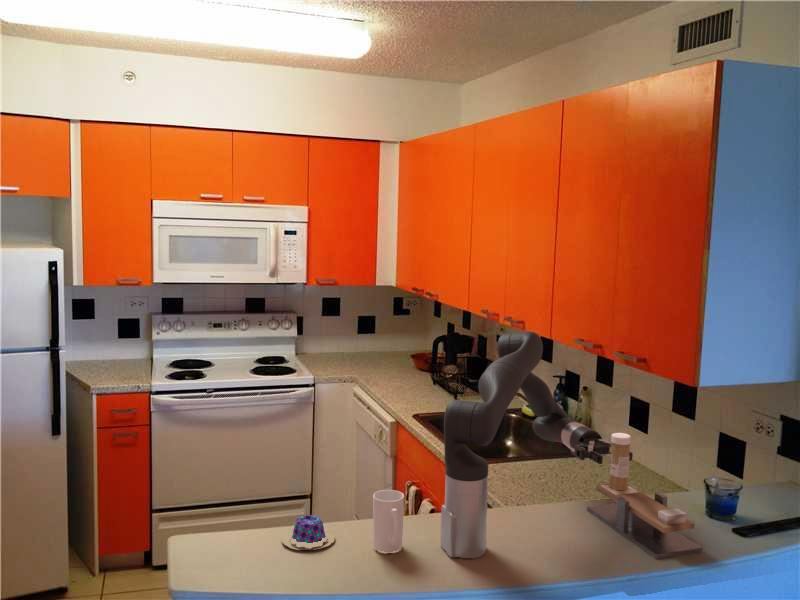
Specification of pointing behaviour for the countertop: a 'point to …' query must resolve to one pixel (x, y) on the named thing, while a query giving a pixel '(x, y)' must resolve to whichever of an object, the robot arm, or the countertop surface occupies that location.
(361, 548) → the countertop surface
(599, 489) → the balance beam
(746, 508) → the countertop surface
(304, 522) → the pudding
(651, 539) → the stand
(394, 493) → the mug
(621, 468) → the sprinkles bottle
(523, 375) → the robot arm
